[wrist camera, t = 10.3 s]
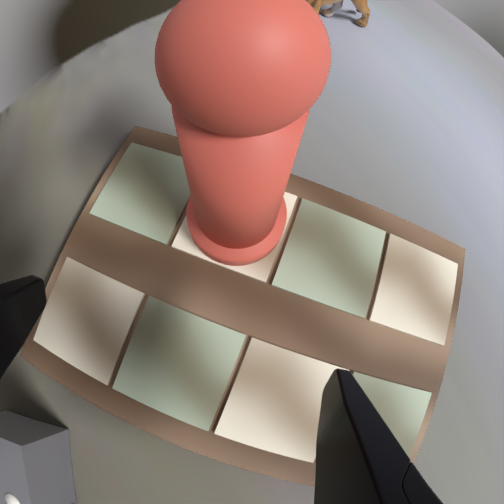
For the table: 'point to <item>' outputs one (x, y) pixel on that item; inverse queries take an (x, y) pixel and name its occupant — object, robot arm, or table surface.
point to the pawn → (240, 113)
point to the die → (34, 462)
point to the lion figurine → (360, 3)
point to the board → (245, 317)
